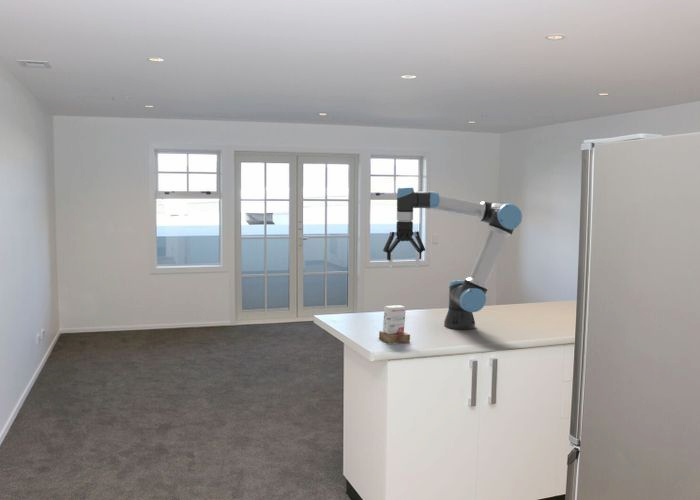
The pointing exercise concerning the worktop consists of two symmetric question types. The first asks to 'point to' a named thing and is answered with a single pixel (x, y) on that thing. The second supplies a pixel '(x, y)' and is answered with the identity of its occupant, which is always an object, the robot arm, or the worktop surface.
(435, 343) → the worktop surface
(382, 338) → the walnut block
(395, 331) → the ink box
